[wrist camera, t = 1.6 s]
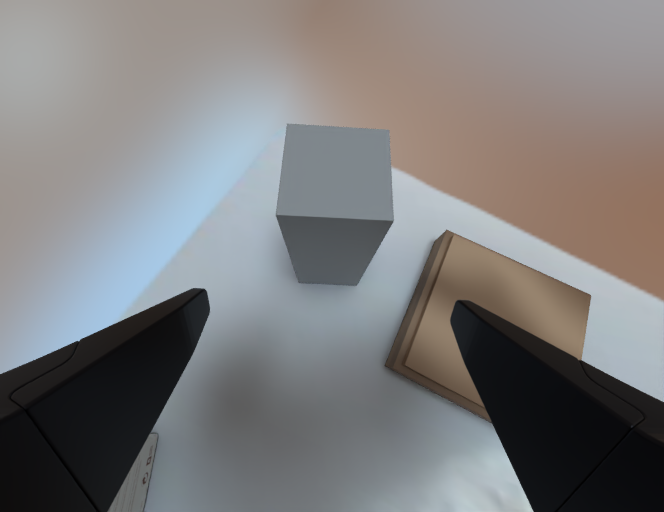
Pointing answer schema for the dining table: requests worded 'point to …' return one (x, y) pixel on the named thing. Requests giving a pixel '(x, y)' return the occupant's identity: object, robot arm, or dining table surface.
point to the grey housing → (334, 200)
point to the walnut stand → (490, 293)
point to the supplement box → (136, 480)
